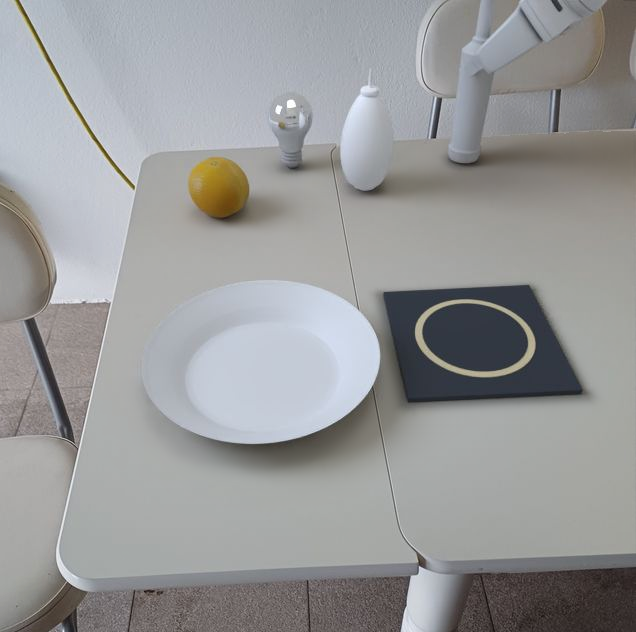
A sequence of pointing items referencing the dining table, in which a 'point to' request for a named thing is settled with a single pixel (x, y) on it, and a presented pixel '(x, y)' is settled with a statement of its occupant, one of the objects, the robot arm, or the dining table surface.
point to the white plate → (260, 361)
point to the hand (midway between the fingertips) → (473, 64)
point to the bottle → (472, 95)
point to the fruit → (218, 187)
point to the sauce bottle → (367, 140)
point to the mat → (476, 344)
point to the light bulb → (290, 125)
